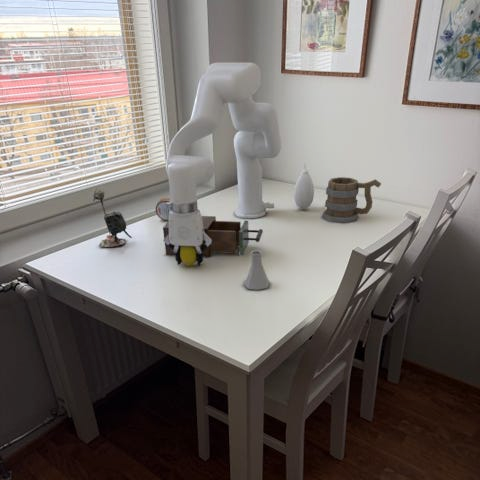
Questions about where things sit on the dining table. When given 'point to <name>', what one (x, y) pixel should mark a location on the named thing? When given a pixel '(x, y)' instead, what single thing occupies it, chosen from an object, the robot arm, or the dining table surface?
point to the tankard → (346, 199)
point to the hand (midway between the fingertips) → (189, 262)
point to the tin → (163, 209)
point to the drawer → (230, 236)
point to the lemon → (188, 255)
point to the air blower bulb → (304, 190)
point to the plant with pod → (112, 224)
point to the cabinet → (206, 223)
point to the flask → (256, 273)
